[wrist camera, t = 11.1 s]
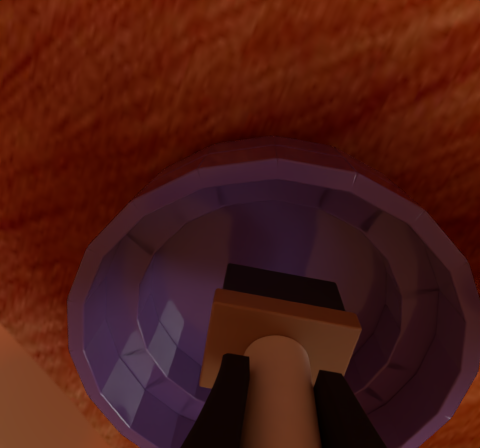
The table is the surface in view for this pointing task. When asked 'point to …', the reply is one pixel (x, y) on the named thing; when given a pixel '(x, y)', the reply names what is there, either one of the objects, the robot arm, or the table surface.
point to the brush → (279, 349)
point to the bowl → (280, 260)
